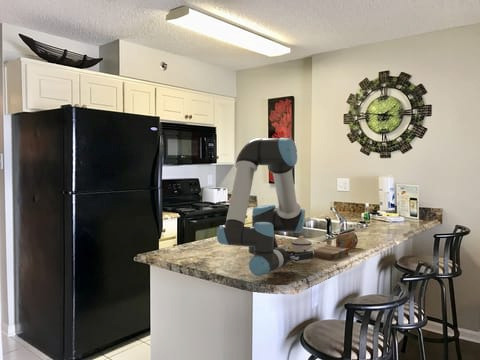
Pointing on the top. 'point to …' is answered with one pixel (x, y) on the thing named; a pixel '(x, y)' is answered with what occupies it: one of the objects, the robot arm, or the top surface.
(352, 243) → the brown flat oval piece
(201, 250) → the top surface
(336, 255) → the board
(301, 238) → the teacup with lid
